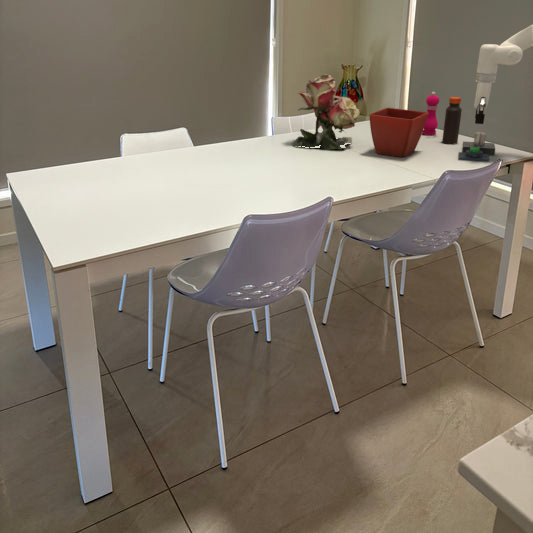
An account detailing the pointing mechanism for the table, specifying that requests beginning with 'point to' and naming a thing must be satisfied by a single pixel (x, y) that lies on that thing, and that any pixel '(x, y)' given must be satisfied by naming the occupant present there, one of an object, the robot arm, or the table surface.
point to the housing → (473, 156)
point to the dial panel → (480, 147)
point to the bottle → (452, 121)
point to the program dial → (479, 138)
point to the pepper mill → (431, 115)
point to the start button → (474, 149)
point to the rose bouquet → (327, 114)
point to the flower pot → (396, 130)
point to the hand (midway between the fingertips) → (479, 121)
